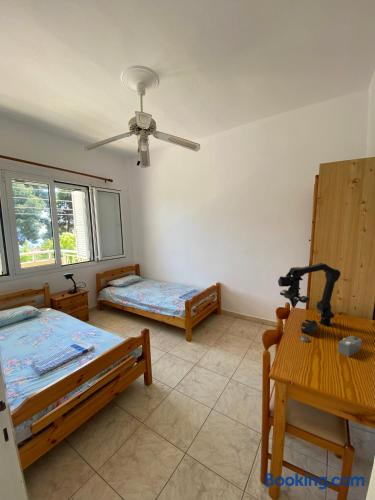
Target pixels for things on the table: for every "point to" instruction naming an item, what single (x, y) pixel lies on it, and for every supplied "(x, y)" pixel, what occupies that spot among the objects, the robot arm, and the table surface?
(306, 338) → the lens cap
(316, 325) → the end cap
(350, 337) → the camera body
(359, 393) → the table surface
